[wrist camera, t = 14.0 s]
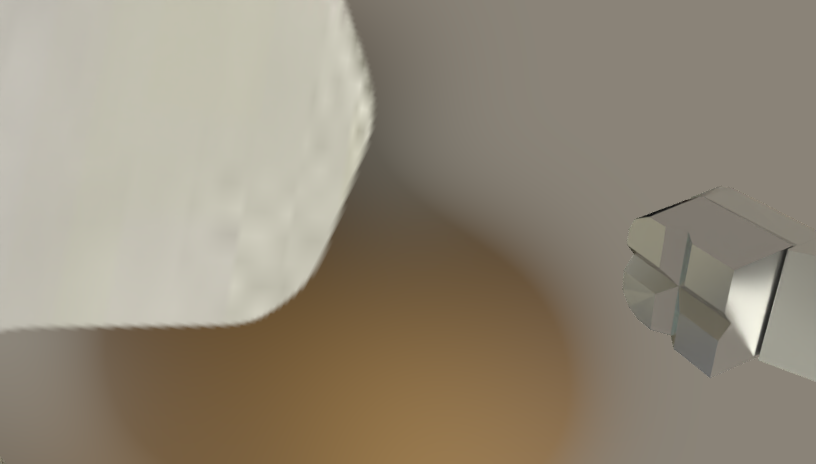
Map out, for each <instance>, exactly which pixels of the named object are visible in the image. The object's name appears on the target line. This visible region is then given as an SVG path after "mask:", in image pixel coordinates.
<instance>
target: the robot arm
mask: <svg viewBox="0 0 816 464" xmlns="http://www.w3.org/2000/svg"><path fill="white" fill-rule="evenodd" d="M627 245H628V247H629V248H630V249H631V251H632V252H633V253H634V255H633V257H632V258H631V260H630V261H629V263H628V265H627V266H626V268H625V270H624V278H623V292H624V294H625V297H626V300H627V303H628V306H629V308H630V309H631V311H632V312H633V313H634V315H635V316H636V317H637V319H638V320H639V321H641V322H642V323H643V324H644V325H645V326H647V327H648V328H649V329H650V330H653V331H657V332H660V333H664V334H667V335H671V340H672V344H673V348H674V349H675V350H676V351H677V352H678V353H680V354H681V355H682V356H683V357H685V358H686V359H687V360H688V361H689V362H691V363H692V364H693V365H695V366H696V367H697V368H698V369H700V370H701V371H702V372H703V373H704V374H706V375H707V376H708V377H709V378H711V377H714V376H716V375H718V374H721V373H723V372H725V371H727V370H730V369H732V368H734V367H736V366H739V365H741V364H743V363H745V362H748V361H750V360H752V359H754V358H757V357H759V359H758V360H759V361H762V362H765V363H767V364H770V365H773V366H775V367H778V368H781V369H783V370H786V371H789V372H791V373H794V374H797V375H800V376H802V377H805V378H807V379H810V380H813V381H815V382H816V230H814V229H813V228H811V227H808V226H806V225H805V224H803V223H801V222H799V221H797V220H795V219H793V218H791V217H789V216H787V215H785V214H783V213H781V212H779V211H777V210H775V209H773V208H771V207H769V206H767V205H765V204H764V203H762V202H760V201H757V200H756V199H754V198H752V197H750V196H748V195H746V194H744V193H742V192H740V191H738V190H736V189H734V188H730V187H722V186H719V187H716V188H714V189H711V190H709V191H706V192H704V193H701V194H698V195H696V196H693V197H692V198H690V199H688V200H685V201H682V202H679V203H677V204H674V205H672V206H668V207H666V208H663V209H660V210H658V211H655V212H652V213H650V214H647V215H644V216H642V217H639V218H636V219H635V220H634V222H633V224H632V225H631V227H630V229H629V233H628V241H627ZM0 464H6V463H5V462H4V460H3V459H2V457H1V456H0Z"/></svg>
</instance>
